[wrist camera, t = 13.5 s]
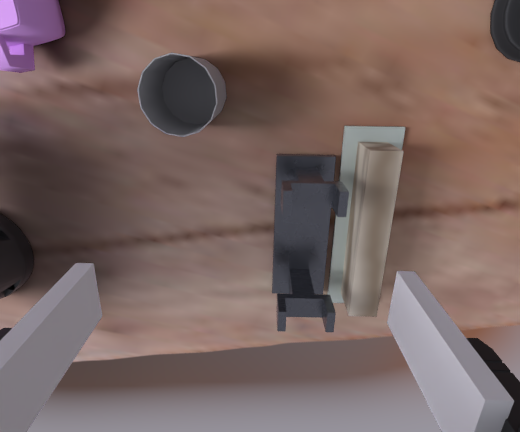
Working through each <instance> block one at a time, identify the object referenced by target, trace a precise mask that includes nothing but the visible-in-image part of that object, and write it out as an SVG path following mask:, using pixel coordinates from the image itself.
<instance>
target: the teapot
mask: <svg viewBox="0 0 520 432" xmlns="http://www.w3.org/2000/svg"><path fill="white" fill-rule="evenodd" d="M64 35H65V25H64V20H63V16H62V12H61V8H60V5H59V1H58V0H0V70H5V71H12V72H19V73H22V72H27V71H32V70H35V65H34V51H33V46H35V45H39V44H43V43H46V42H50V41H53V40H56V39H59V38H61V37H63V36H64ZM9 50H10V53H9Z"/></svg>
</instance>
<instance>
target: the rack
mask: <svg viewBox="0 0 520 432" xmlns="http://www.w3.org/2000/svg"><path fill="white" fill-rule="evenodd" d="M335 161H336V156H335V155H308V154H277V159H276V190H275V220H274V251H273V281H272V293H285V294H277V330H278V331H285V328H286V317H322V319H323V323H324V327H325V332H333V331H334V322H335V309H334V306H333V303H332V299H331V296H330V295H319V294H323V288H324V277H325V267H326V256H327V245H328V235H329V224H330V214H331V208H333V209H334V211H335V213H336V215H337V217H346V215H347V206H348V197H349V191H348V190H347V188H346V187H345V185H344V184H343V183H342V182H339V181H334V171H335Z"/></svg>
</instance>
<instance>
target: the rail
mask: <svg viewBox="0 0 520 432" xmlns="http://www.w3.org/2000/svg"><path fill="white" fill-rule="evenodd" d="M403 152H404V151H402V150H401V149H399V148H397V147H395V146H394V145H392V144H390V143H388V142H358V147H357V155H356V164H355V173H354V181H353V190H352V199H351V207H350V216H349V225H348V233H347V242H346V251H345V259H344V268H343V276H342V285H341V295H342V298H343V301H344V304H345V306H346V309H347V312H348V315H349V316H372V317H377V311H378V305H379V299H380V292H381V286H382V280H383V274H384V268H385V262H386V256H387V250H388V244H389V237H390V231H391V225H392V219H393V213H394V207H395V201H396V195H397V189H398V183H399V176H400V170H401V164H402V158H403Z"/></svg>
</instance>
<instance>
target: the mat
mask: <svg viewBox="0 0 520 432" xmlns="http://www.w3.org/2000/svg"><path fill="white" fill-rule="evenodd" d="M404 133H405V127H393V126H344V135H343V145H342V155H341V165H340V175H339V182H342V183H343V184H344V185H345V187H346V188H347V190H348V191H349V197H348V206H347V215H346V217H337V215H335V225H334V235H333V245H332V255H331V265H330V275H329V285H328V295H330V296H331V299H332V303H344V301H343V298H342V295H341V285H342V276H343V268H344V259H345V251H346V242H347V233H348V225H349V216H350V207H351V199H352V190H353V181H354V173H355V164H356V155H357V147H358V142H388V143H390V144H392V145H394V146H395V147H397V148H399V149H401V150H402V146H403V140H404Z"/></svg>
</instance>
